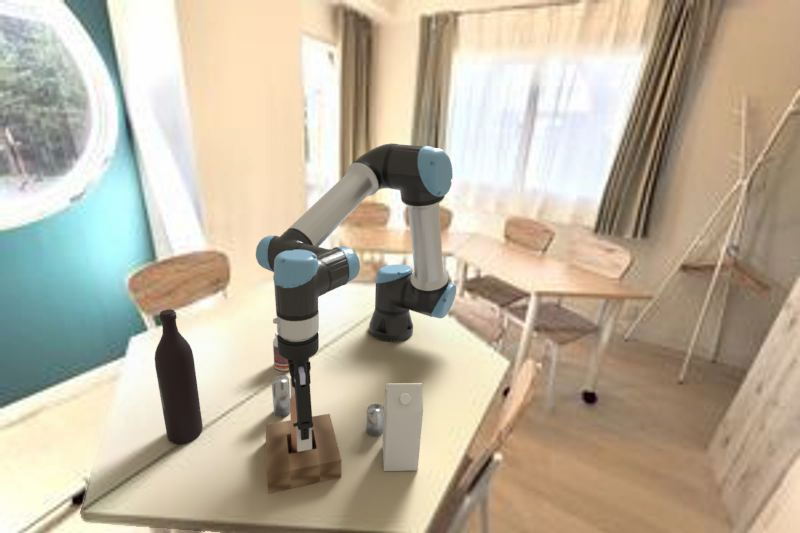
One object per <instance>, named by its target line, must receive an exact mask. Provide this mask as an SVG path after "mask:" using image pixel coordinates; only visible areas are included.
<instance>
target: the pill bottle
mask: <svg viewBox="0 0 800 533" xmlns="http://www.w3.org/2000/svg"><path fill="white" fill-rule="evenodd" d="M274 333H275V334H274V336H275V337H274V339H273V341H272V347H273V348H272V350H273V351H272V352H273V365H274V366H273V367H274V368H275V369H276V370H278V371H281V372H286V371H289V365H288V359H285V358H283V357H282V356H280V354H279V353H278V342H277V336H278V333H277V329H276V330H275V331H274Z"/></svg>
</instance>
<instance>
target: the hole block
mask: <svg viewBox="0 0 800 533" xmlns="http://www.w3.org/2000/svg"><path fill="white" fill-rule="evenodd" d="M312 422H313V428H312V447H313V448H312V449H311V450H307V451H302V452H297V453H292V443H291V419H290V420H284V421H279V422H272V423H267V424H266V423H265V425H264V428H265V431H264V432H265V453H266V454H265V456H266V457H265V458H266V474H267V475H266V477H267V479H266V480H267V493H268V494H271V493H272V494H273V493H275V492H280V491H281V492H282V491H284V490H285V491H286V490H290V489H294V488H298V487H303V486H309V485H312V484H317V483H322V482H325V481H330V480H334V479H339V478H342V458H341V454H340V449H339V446H338V442H337V438H336V433H335V430H334V426H333V422H332V417H331V413H325V414H319V415H315V416H313V415H312ZM289 452H291V453H289Z"/></svg>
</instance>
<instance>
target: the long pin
mask: <svg viewBox="0 0 800 533" xmlns="http://www.w3.org/2000/svg"><path fill="white" fill-rule="evenodd" d="M289 416H290V420H291V443H292V450H291V454H292V453H297V432H296V427H293V423H296V421H297V412H296V399H295V395H293V396H292V397H291V396H290V414H289ZM310 450H312V449H310ZM305 451H307V450H305ZM300 452H302V451H300Z"/></svg>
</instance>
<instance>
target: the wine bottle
mask: <svg viewBox="0 0 800 533" xmlns="http://www.w3.org/2000/svg"><path fill="white" fill-rule="evenodd" d="M158 316H159V320H160V322H161V326H162V334H161V337H160V340H159V342H158V344H157V346H156V349H155V352H154V364H155V373H156V378H157V384H158V390H159V396H160V401H161V407H162V414H163V420H164V426H165V431H166V432H165V433H166V438H167V439H168V441H169V442H170V443H172V444H175V445H183V444H187V443H190V442H192V441H194V440H195V439H197V438H198V437H199V436H200V435H201V433H202V432H203V428H204V426H203V420H202V419H203V418H202V412H201V404H200V396H199V395H200V394H199V389H198V388H199V387H198V381H197V373H196V372H197V371H196V367H195V364H196V363H195V359H194V358H195V357H194V354H193V350H192V347H191V344H190V343H189V342H188V341H187V340H186V338H185V337H184V336H183V335H182V334H181V333H180V332H179V331H180V330H178V329H179V328H178V326H177V312H176V311H175V310H174V309H171V308H169V309H168V308H167V309H164V310H162V311H160V314H158Z"/></svg>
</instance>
